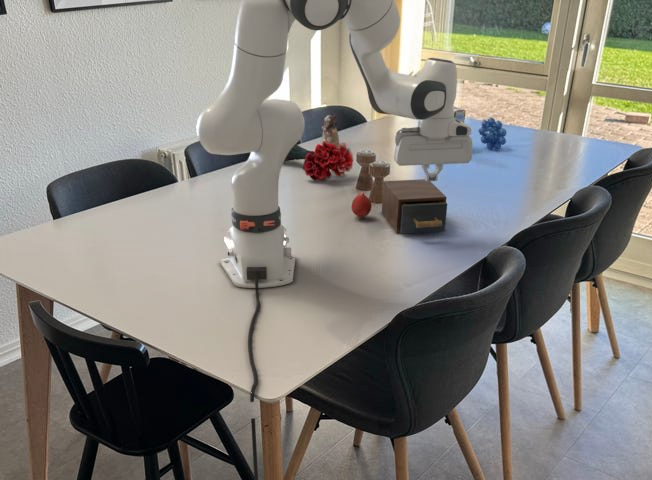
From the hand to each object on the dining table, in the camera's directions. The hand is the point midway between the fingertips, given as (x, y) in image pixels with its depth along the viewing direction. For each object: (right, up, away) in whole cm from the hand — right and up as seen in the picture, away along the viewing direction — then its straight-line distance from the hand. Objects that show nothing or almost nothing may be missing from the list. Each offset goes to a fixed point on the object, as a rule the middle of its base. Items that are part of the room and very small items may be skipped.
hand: (431, 180), depth 185 cm
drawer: (-2, -9, +14) cm, 17 cm away
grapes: (+35, +35, +89) cm, 102 cm away
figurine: (-27, +36, +90) cm, 101 cm away
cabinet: (-3, -7, +20) cm, 21 cm away
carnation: (-35, +18, +60) cm, 72 cm away
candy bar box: (+18, +33, +86) cm, 94 cm away
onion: (-18, -6, +22) cm, 29 cm away
